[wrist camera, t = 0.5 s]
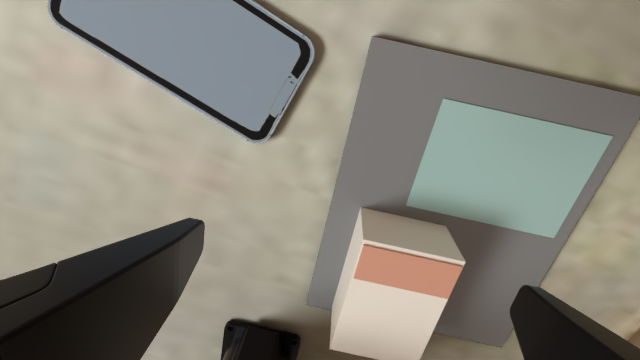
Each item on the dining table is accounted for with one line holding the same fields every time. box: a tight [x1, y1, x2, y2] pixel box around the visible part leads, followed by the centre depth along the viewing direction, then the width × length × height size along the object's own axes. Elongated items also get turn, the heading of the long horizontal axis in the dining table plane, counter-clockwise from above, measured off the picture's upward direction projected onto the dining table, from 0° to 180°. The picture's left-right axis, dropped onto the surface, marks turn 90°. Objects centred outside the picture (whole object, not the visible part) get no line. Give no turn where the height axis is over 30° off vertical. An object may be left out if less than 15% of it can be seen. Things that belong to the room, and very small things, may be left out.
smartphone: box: [47, 0, 315, 144], centre depth 19 cm, size 7×1×15 cm
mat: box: [306, 36, 640, 347], centre depth 22 cm, size 20×16×1 cm
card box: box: [330, 207, 465, 360], centre depth 22 cm, size 9×6×4 cm, turn 168°
